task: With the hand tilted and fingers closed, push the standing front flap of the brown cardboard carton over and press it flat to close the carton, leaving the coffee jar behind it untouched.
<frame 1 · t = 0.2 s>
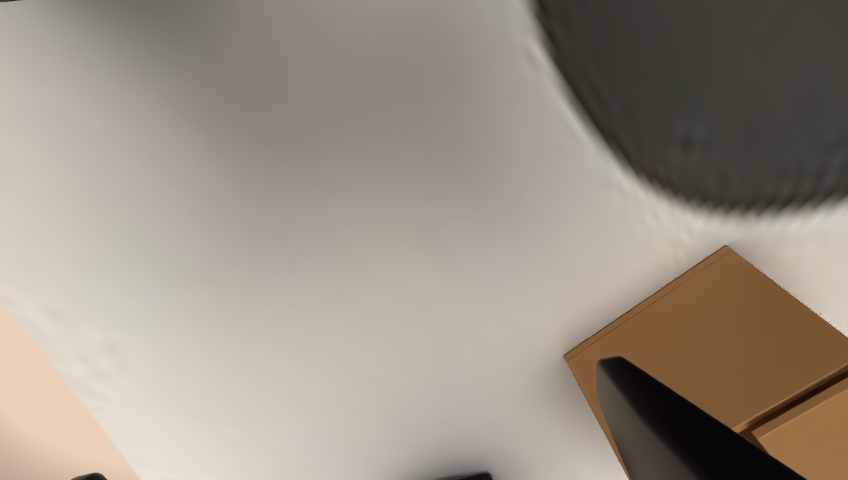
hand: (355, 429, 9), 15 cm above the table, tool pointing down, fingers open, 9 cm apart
carton: (686, 358, 31), on the table
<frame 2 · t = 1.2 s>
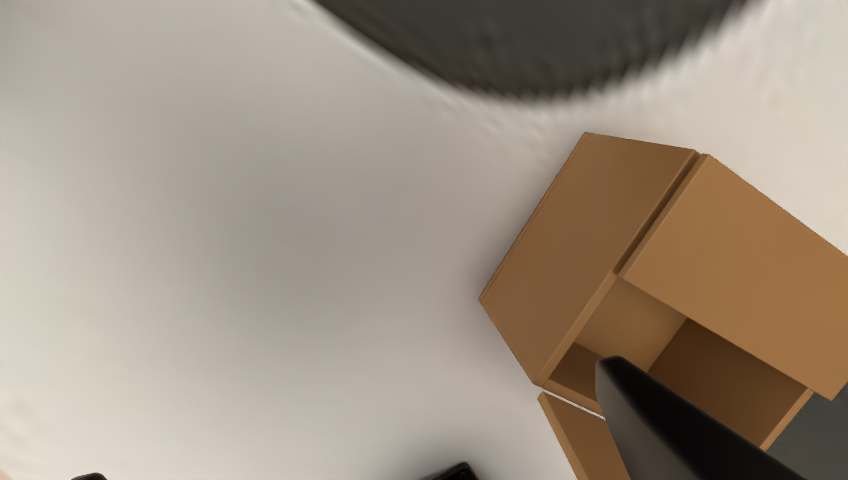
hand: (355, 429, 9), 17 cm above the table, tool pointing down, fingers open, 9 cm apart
carton: (614, 269, 28), on the table
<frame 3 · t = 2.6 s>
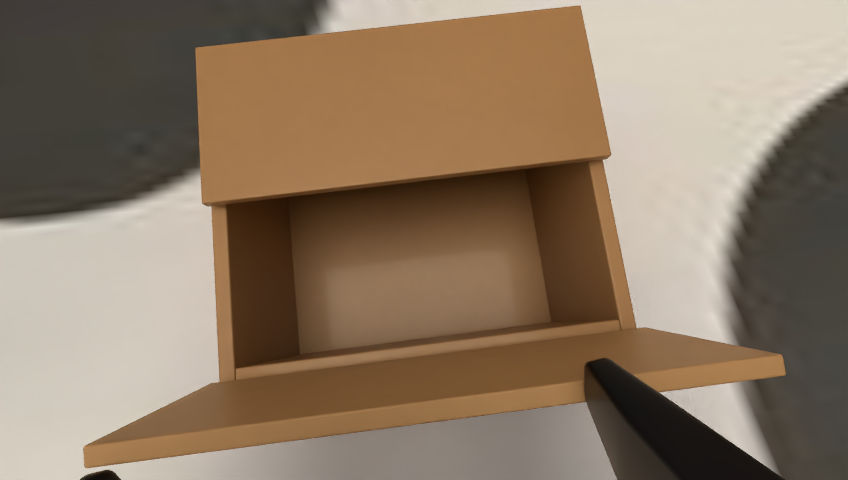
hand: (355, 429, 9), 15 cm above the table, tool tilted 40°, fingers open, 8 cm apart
carton: (414, 237, 24), on the table
flap: (435, 380, 11), point 12 cm above the table, hinge at 95.5°, touching gripper
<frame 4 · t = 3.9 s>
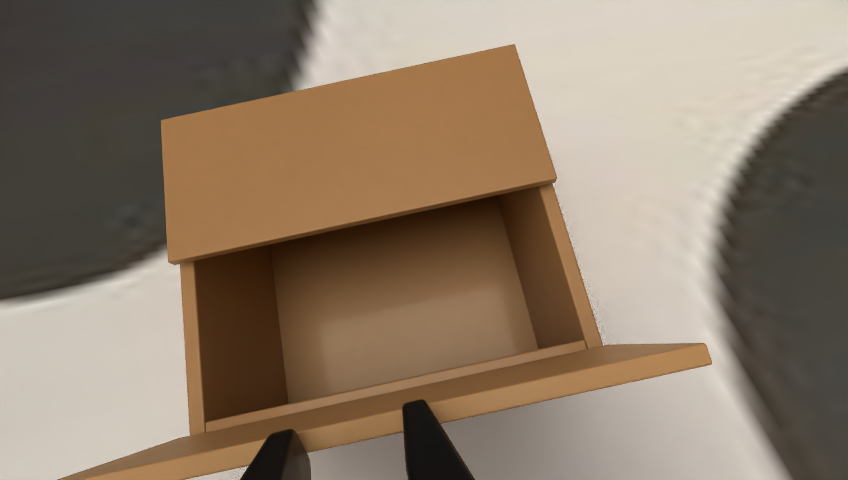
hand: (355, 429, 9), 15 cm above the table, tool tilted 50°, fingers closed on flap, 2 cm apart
carton: (396, 280, 24), on the table
flap: (384, 409, 11), point 12 cm above the table, hinge at 93.9°, touching gripper
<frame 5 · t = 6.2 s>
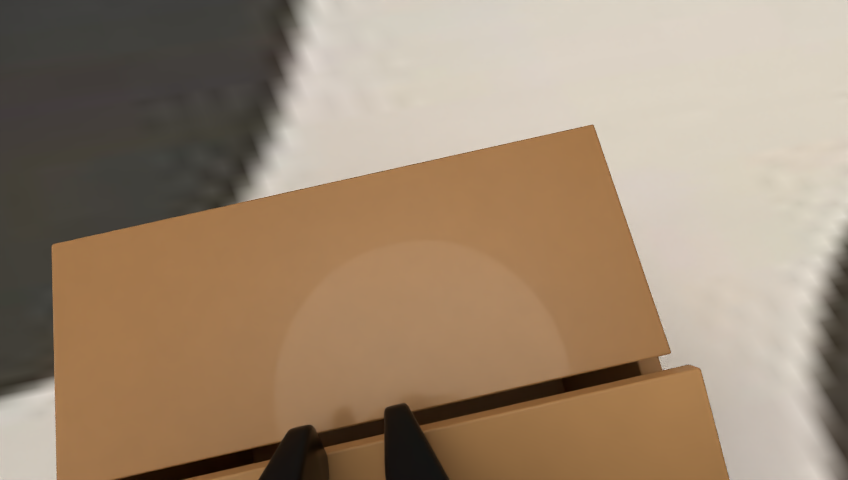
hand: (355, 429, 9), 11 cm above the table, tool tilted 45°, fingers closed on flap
carton: (404, 394, 19), on the table
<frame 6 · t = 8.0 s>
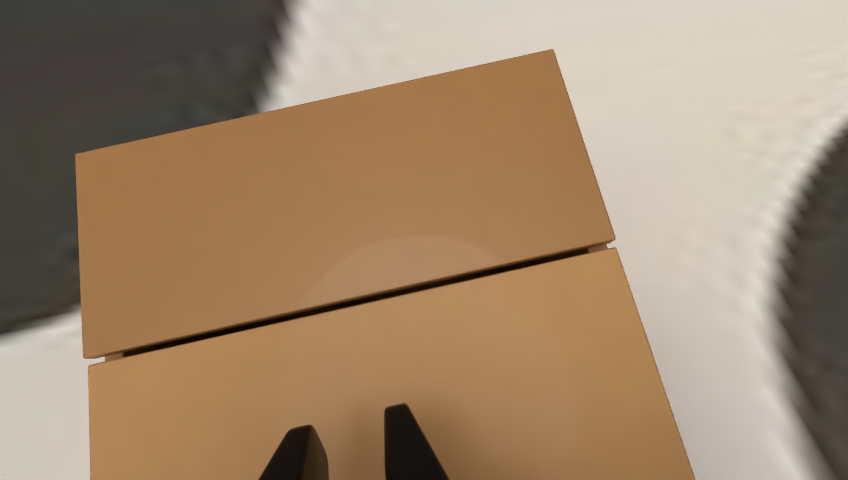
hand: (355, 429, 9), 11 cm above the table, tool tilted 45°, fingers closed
carton: (393, 327, 20), on the table
flap: (375, 421, 11), point 9 cm above the table, hinge at -1.6°
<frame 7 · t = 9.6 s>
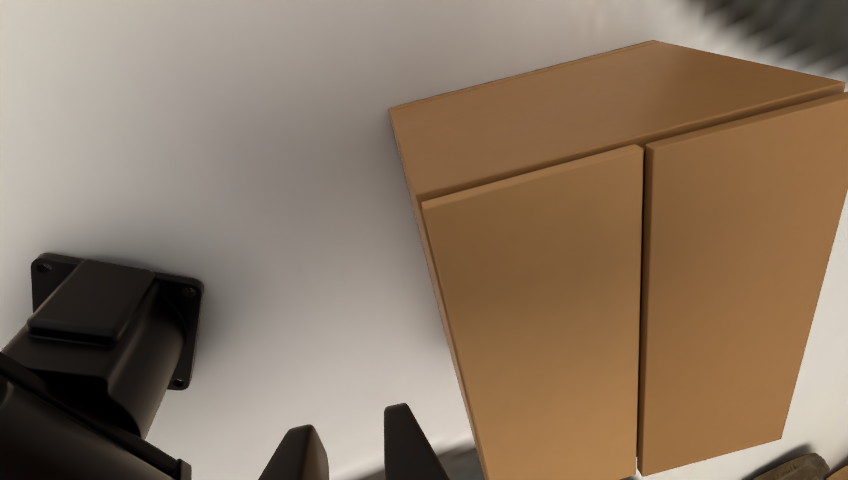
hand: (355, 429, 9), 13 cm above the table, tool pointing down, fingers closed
carton: (536, 214, 22), on the table
flap: (552, 368, 14), point 9 cm above the table, hinge at -1.6°
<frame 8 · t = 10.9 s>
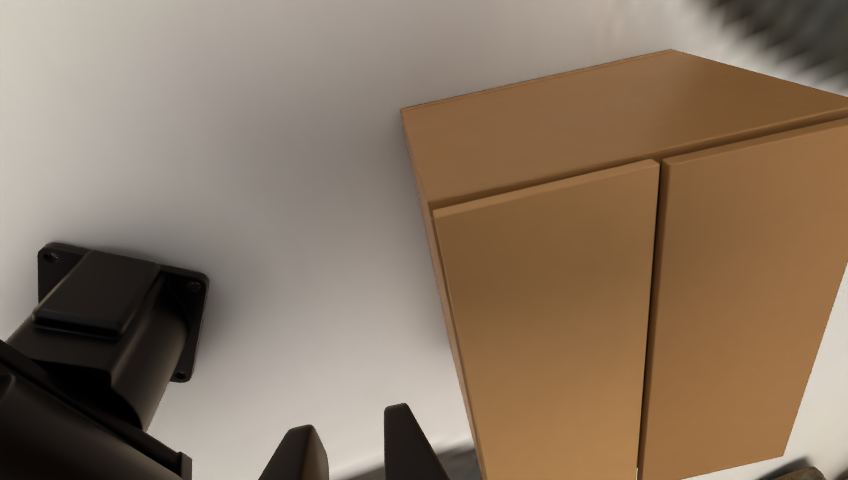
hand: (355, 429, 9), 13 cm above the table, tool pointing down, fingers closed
carton: (544, 220, 22), on the table
flap: (556, 378, 14), point 9 cm above the table, hinge at -1.6°
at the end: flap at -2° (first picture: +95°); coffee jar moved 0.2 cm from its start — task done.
